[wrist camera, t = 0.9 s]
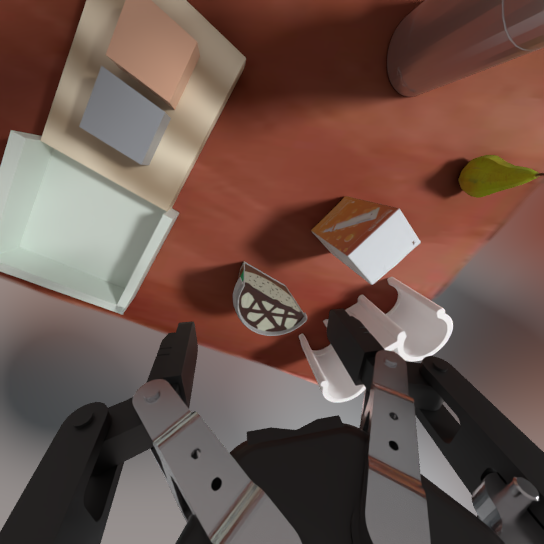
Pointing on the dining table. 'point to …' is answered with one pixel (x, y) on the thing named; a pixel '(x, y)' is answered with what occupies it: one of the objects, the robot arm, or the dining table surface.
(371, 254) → the small box
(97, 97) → the tile
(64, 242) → the tray
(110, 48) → the tile
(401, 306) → the bracket
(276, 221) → the dining table surface
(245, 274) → the food container
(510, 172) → the fruit
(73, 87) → the beige slab
